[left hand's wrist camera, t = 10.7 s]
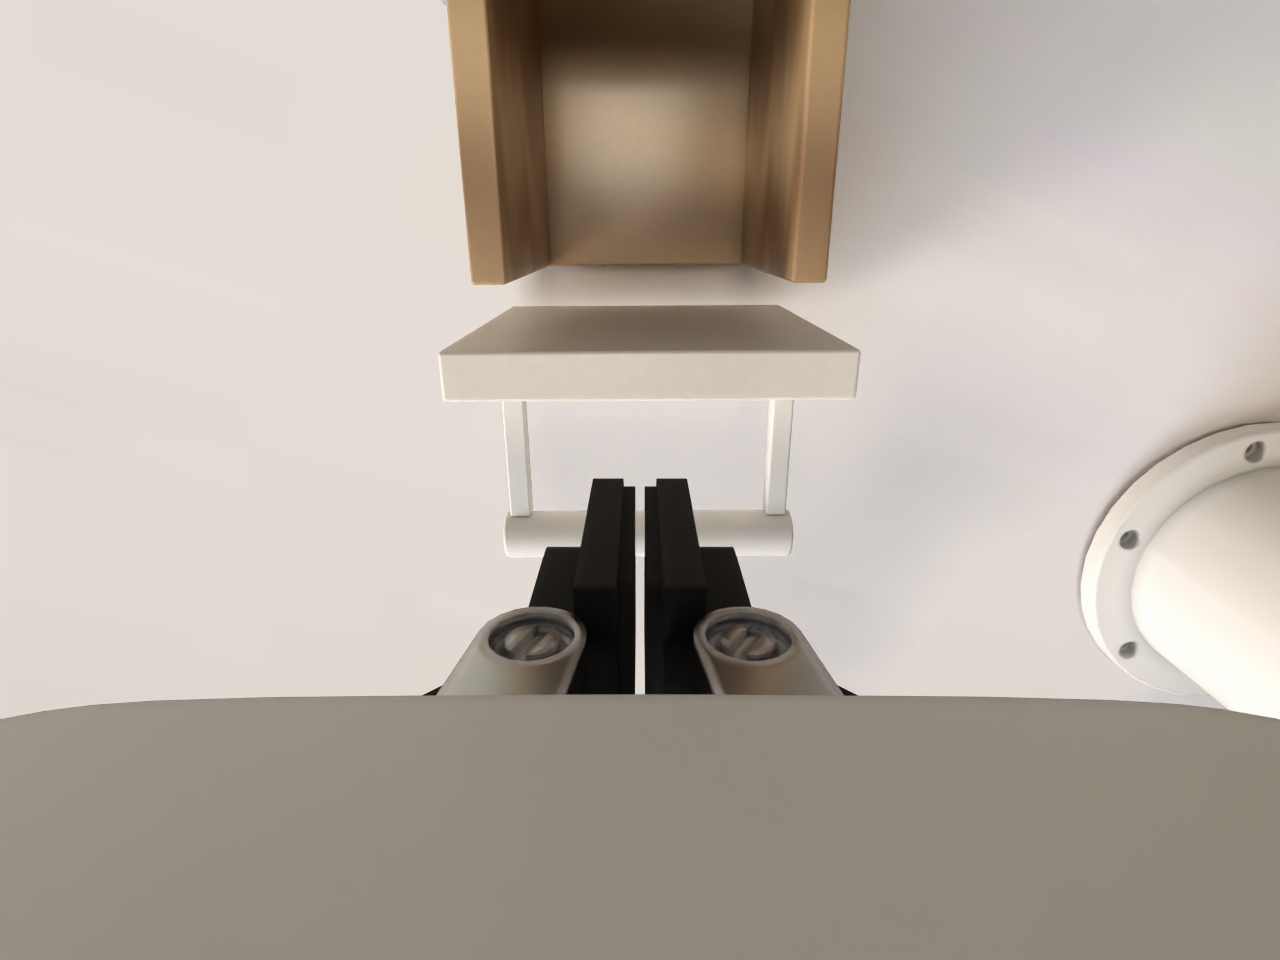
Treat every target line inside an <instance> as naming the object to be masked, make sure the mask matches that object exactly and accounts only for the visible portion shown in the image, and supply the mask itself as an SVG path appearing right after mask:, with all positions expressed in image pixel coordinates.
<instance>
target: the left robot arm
mask: <svg viewBox="0 0 1280 960" xmlns="http://www.w3.org/2000/svg"><path fill="white" fill-rule="evenodd" d="M1081 607H1082V610H1083V614H1084V618H1085V622H1086V626H1087V628H1088V630H1089V631H1090V633H1091V635H1092V637H1093V638H1094V640H1095V642H1096V644H1097V645H1098V646H1099V647H1100V648H1101V649H1102V651H1103V652H1104V653H1105V654H1106V655H1107V656H1108V657H1109V658H1110V659H1111V660H1112V661H1113V662H1114V663H1115V664H1117V665H1118V666H1119V667H1120V668H1122V669H1123V670H1124V671H1125V672H1126V673H1128V674H1129V675H1130V676H1131V677H1133V678H1135V679H1137V680H1139V681H1141V682H1143V683H1145V684H1147V685H1149V686H1151V687H1153V688H1156V689H1160V690H1164V691H1168V692H1171V693H1175V694H1185V695H1197V696H1207V695H1211V696H1212V697H1214V698H1215V699H1216V700H1217V701H1218V702H1220V703H1221V704H1222V705H1223V706H1225V707H1226V708H1227V709H1228V710H1224V709H1216V708H1207V707H1199V706H1190V705H1181V704H1167V703H1151V702H1134V701H1118V700H1088V699H1050V698H1012V697H950V696H858V695H856V694H854V693H852V692H850V691H848V690H846V689H844V688H842V687H840V686H838V685H837V684H836V683H835V681H834V680H833V678H832V677H831V675H830V674H829V672H828V671H827V669H826V668H825V666H824V665H823V663H822V662H821V660H820V659H819V657H818V656H817V654H816V653H815V651H814V650H813V648H812V647H811V645H810V644H809V642H808V641H807V639H806V638H805V636H804V635H803V633H802V632H801V631H800V630H799V628H798V627H797V626H796V625H795V624H794V623H793V622H791V621H790V620H788V619H786V618H785V617H783V616H781V615H779V614H776V613H774V612H771V611H768V610H765V609H759V608H753V607H751V604H750V600H749V597H748V594H747V590H746V587H745V584H744V580H743V577H742V573H741V570H740V567H739V563H738V560H737V556H736V553H735V550H734V548H733V547H699V541H698V536H697V531H696V525H695V520H694V515H693V509H692V504H691V499H690V493H689V488H688V483H687V479H657V481H656V487H645V596H644V638H645V694H635V638H636V596H635V487H624V481H623V479H593V483H592V488H591V493H590V499H589V504H588V509H587V515H586V520H585V525H584V531H583V536H582V541H581V547H547V548H546V550H545V553H544V556H543V560H542V563H541V567H540V570H539V573H538V577H537V580H536V584H535V587H534V590H533V594H532V597H531V600H530V604H529V607H527V608H521V609H515V610H512V611H509V612H506V613H504V614H501V615H499V616H497V617H495V618H494V619H492V620H490V621H489V622H487V623H486V624H485V625H484V626H483V627H482V628H481V630H480V631H479V632H478V633H477V635H476V636H475V638H474V639H473V641H472V642H471V644H470V645H469V647H468V648H467V650H466V651H465V653H464V654H463V656H462V657H461V659H460V660H459V662H458V663H457V665H456V666H455V668H454V669H453V671H452V672H451V674H450V675H449V677H448V678H447V680H446V681H445V683H444V684H443V685H442V686H440V687H438V688H436V689H434V690H432V691H430V692H428V693H426V694H424V695H422V696H342V697H261V698H228V699H195V700H162V701H144V702H129V703H115V704H100V705H88V706H81V707H73V708H65V709H57V710H50V711H42V712H37V713H32V714H26V715H21V716H16V717H10V718H5V719H0V960H1280V422H1275V423H1264V424H1253V425H1245V426H1241V427H1237V428H1233V429H1230V430H1226V431H1222V432H1218V433H1215V434H1212V435H1210V436H1208V437H1205V438H1203V439H1201V440H1198V441H1196V442H1194V443H1191V444H1189V445H1187V446H1185V447H1183V448H1182V449H1180V450H1178V451H1177V452H1175V453H1173V454H1172V455H1170V456H1168V457H1167V458H1165V459H1164V460H1162V461H1160V462H1159V463H1157V464H1156V465H1155V466H1154V467H1152V468H1151V469H1150V470H1149V471H1148V472H1146V473H1145V474H1144V475H1143V476H1142V477H1140V478H1139V479H1138V480H1137V481H1136V482H1134V483H1133V484H1132V485H1131V486H1130V487H1129V489H1128V490H1127V491H1126V492H1125V493H1124V494H1123V495H1122V496H1121V498H1120V499H1119V500H1118V501H1117V502H1116V503H1115V504H1114V505H1113V507H1112V508H1111V509H1110V511H1109V513H1108V514H1107V516H1106V517H1105V519H1104V520H1103V522H1102V523H1101V525H1100V527H1099V528H1098V530H1097V531H1096V533H1095V536H1094V538H1093V541H1092V543H1091V545H1090V548H1089V550H1088V553H1087V555H1086V558H1085V563H1084V568H1083V573H1082V578H1081Z"/></svg>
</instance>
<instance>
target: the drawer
mask: <svg viewBox="0 0 1280 960" xmlns="http://www.w3.org/2000/svg"><path fill="white" fill-rule="evenodd" d="M446 2H447V13H448V24H449V35H450V46H451V58H452V69H453V80H454V91H455V102H456V114H457V125H458V136H459V147H460V158H461V170H462V181H463V192H464V203H465V214H466V226H467V237H468V248H469V259H470V270H471V282H472V284H474V285H502V284H506V283H509V282H511V281H514V280H516V279H518V278H521V277H523V276H526V275H528V274H531V273H533V272H535V271H538V270H540V269H543V268H545V267H547V266H573V265H737V264H743V265H746V266H749V267H752V268H755V269H757V270H760V271H763V272H766V273H769V274H772V275H775V276H777V277H780V278H783V279H786V280H789V281H792V282H794V283H821V282H825V281H826V279H827V267H828V256H829V244H830V233H831V221H832V210H833V198H834V187H835V175H836V164H837V152H838V141H839V129H840V118H841V106H842V94H843V83H844V71H845V60H846V48H847V37H848V25H849V14H850V2H851V0H446ZM438 358H439V367H440V377H441V386H442V395H443V399H444V401H447V402H488V401H502V407H503V420H504V433H505V446H506V458H507V471H508V484H509V496H510V509H511V511H510V512H508V513H507V515H506V517H505V522H504V548H505V552H506V555H507V556H508V557H543V556H544V553H545V550H546V548H547V547H581V541H582V536H583V531H584V525H585V520H586V515H587V511H532V510H533V498H532V483H531V468H530V453H529V438H528V422H527V407H526V401H663V400H770V402H769V418H768V434H767V450H766V466H765V482H764V498H763V508H764V510H693V515H694V520H695V525H696V531H697V536H698V541H699V547H733V548H734V550H735V553H736V556H787V555H789V554H790V553H791V550H792V545H793V524H792V518H791V515H790V513H789V511H788V510H786V497H787V484H788V470H789V457H790V444H791V430H792V417H793V404H794V400H839V399H854V398H855V396H856V390H857V381H858V372H859V362H860V350H858V349H857V348H855V347H853V346H851V345H849V344H848V343H846V342H844V341H842V340H840V339H839V338H837V337H835V336H833V335H831V334H830V333H828V332H826V331H824V330H822V329H821V328H819V327H817V326H815V325H813V324H812V323H810V322H808V321H806V320H804V319H803V318H801V317H799V316H797V315H795V314H794V313H792V312H790V311H788V310H786V309H785V308H783V307H781V306H779V305H700V306H533V307H512V308H510V309H509V310H507V311H505V312H504V313H502V314H501V315H499V316H497V317H496V318H494V319H493V320H491V321H489V322H488V323H486V324H484V325H483V326H481V327H480V328H478V329H476V330H475V331H473V332H472V333H470V334H468V335H467V336H465V337H463V338H462V339H460V340H459V341H457V342H455V343H454V344H452V345H451V346H449V347H447V348H446V349H444V350H442V351H441V352H439V355H438ZM635 556H645V510H635Z"/></svg>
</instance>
